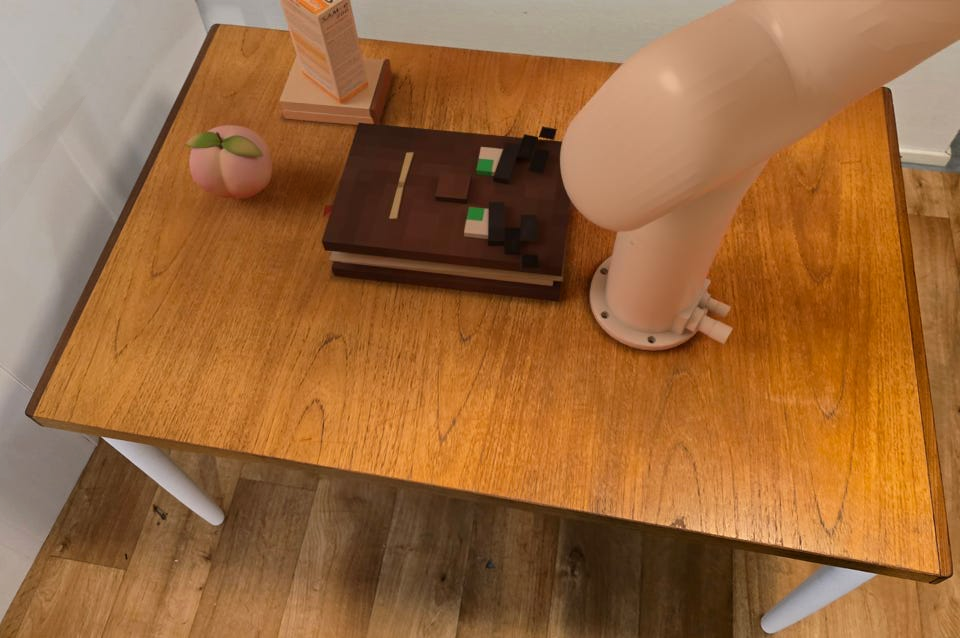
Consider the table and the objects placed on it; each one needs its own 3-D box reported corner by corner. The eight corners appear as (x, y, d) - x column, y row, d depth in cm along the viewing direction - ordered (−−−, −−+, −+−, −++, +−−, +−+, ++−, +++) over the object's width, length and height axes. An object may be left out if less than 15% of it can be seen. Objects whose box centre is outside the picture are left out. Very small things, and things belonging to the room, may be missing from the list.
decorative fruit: (290, 164, 92) (267, 104, 83) (276, 217, 88) (251, 160, 79) (215, 162, 92) (185, 102, 84) (199, 215, 88) (165, 158, 80)
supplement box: (370, 85, 94) (352, -5, 82) (341, 106, 92) (318, 17, 81) (330, 54, 97) (306, -37, 86) (300, 73, 95) (272, -17, 84)
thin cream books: (392, 77, 99) (389, 59, 96) (378, 127, 94) (374, 109, 92) (303, 69, 100) (297, 51, 97) (285, 118, 96) (278, 101, 93)
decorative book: (339, 107, 86) (600, 131, 83) (351, 152, 92) (593, 176, 90) (294, 243, 77) (586, 275, 74) (311, 282, 83) (579, 313, 80)
